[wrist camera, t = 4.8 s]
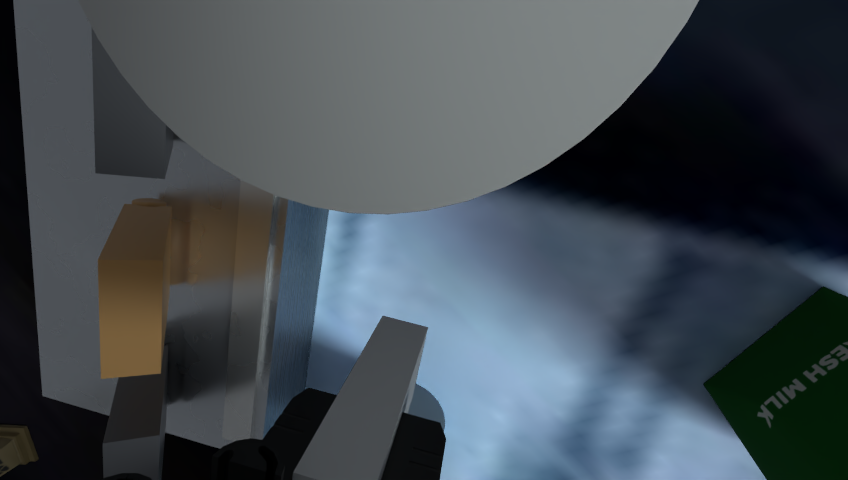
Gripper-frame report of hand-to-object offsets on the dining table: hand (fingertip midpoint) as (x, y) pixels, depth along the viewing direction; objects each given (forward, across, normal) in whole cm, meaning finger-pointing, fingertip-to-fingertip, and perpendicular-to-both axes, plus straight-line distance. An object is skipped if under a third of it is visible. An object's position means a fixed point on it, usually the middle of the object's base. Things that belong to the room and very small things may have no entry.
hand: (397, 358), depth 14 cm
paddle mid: (+4, +12, 0) cm, 13 cm away
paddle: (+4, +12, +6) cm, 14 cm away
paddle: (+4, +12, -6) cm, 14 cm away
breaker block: (+9, +12, 0) cm, 15 cm away
